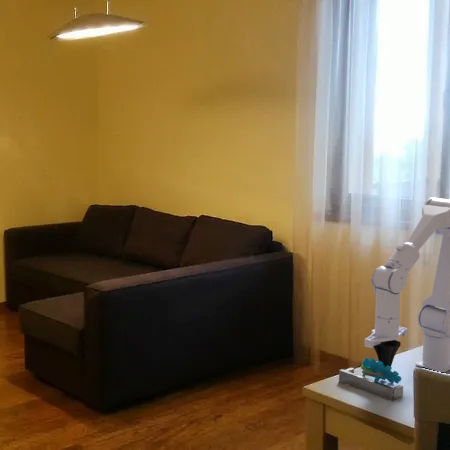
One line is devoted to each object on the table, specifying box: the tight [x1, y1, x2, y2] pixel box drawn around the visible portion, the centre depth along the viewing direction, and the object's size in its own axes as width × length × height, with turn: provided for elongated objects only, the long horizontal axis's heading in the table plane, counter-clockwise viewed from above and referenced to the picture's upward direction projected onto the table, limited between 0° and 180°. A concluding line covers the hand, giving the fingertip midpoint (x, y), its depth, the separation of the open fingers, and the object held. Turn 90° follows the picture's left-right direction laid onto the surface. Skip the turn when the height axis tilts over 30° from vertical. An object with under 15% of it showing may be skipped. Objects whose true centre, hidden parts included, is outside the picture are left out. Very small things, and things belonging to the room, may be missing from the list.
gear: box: [360, 357, 402, 385], centre depth 166 cm, size 11×6×10 cm
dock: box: [338, 367, 404, 402], centre depth 164 cm, size 4×16×3 cm, turn 40°
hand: (385, 369), depth 167 cm, fingers closed
